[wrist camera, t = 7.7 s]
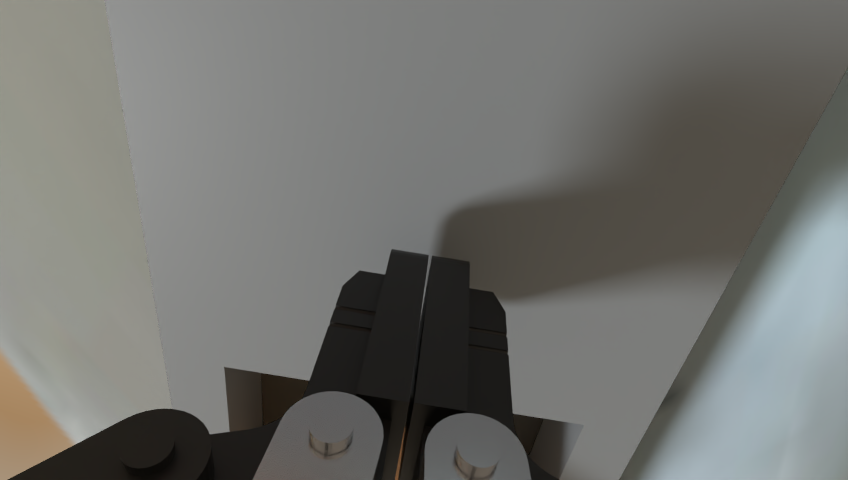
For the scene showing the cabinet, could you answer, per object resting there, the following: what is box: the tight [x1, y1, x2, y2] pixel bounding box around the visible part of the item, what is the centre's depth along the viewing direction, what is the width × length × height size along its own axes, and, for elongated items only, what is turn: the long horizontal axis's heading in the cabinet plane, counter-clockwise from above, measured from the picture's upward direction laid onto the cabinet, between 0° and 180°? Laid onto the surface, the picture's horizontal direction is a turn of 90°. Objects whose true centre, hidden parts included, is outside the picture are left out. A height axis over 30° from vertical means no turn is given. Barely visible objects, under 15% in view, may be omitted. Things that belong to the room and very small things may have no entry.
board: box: [105, 0, 848, 480], centre depth 13 cm, size 24×12×2 cm, turn 172°
